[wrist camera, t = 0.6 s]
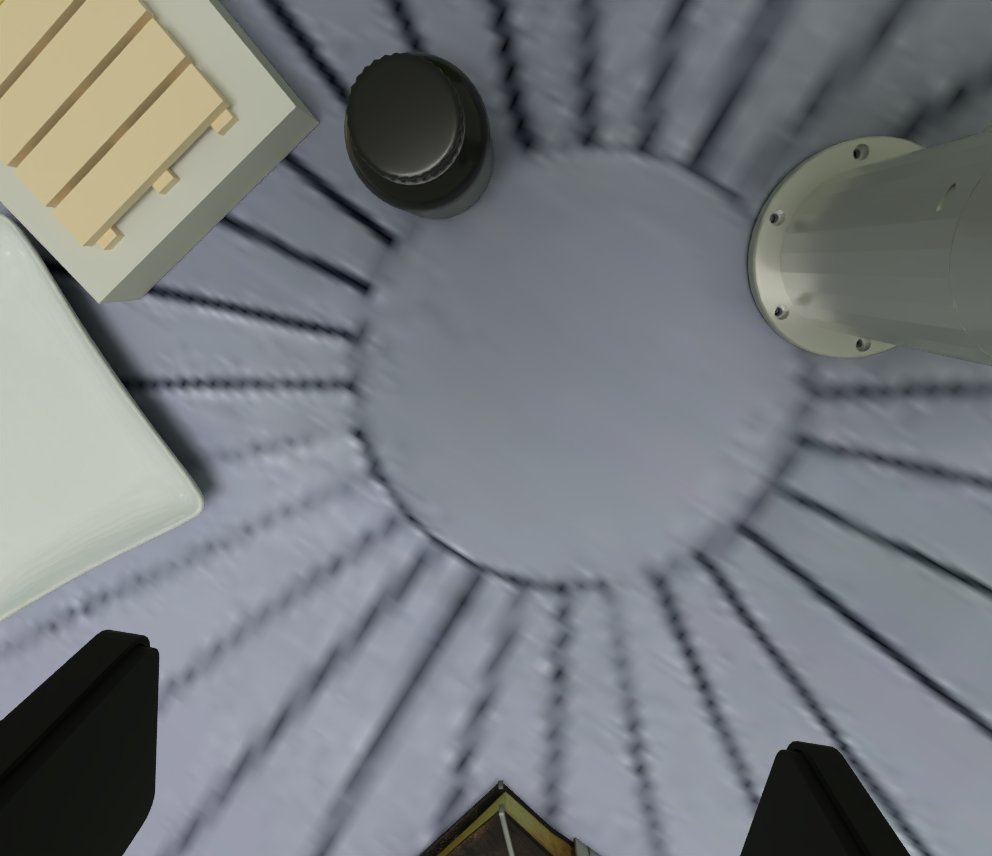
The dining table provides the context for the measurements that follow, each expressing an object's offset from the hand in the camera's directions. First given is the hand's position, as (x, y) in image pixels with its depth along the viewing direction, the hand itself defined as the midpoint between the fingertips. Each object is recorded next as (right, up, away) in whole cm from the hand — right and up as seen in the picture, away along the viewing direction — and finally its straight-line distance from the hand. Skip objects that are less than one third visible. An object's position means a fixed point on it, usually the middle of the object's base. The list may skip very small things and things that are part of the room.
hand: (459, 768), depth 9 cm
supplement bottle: (-3, +21, +27) cm, 35 cm away
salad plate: (-32, +5, +33) cm, 46 cm away
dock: (-20, +23, +27) cm, 41 cm away
